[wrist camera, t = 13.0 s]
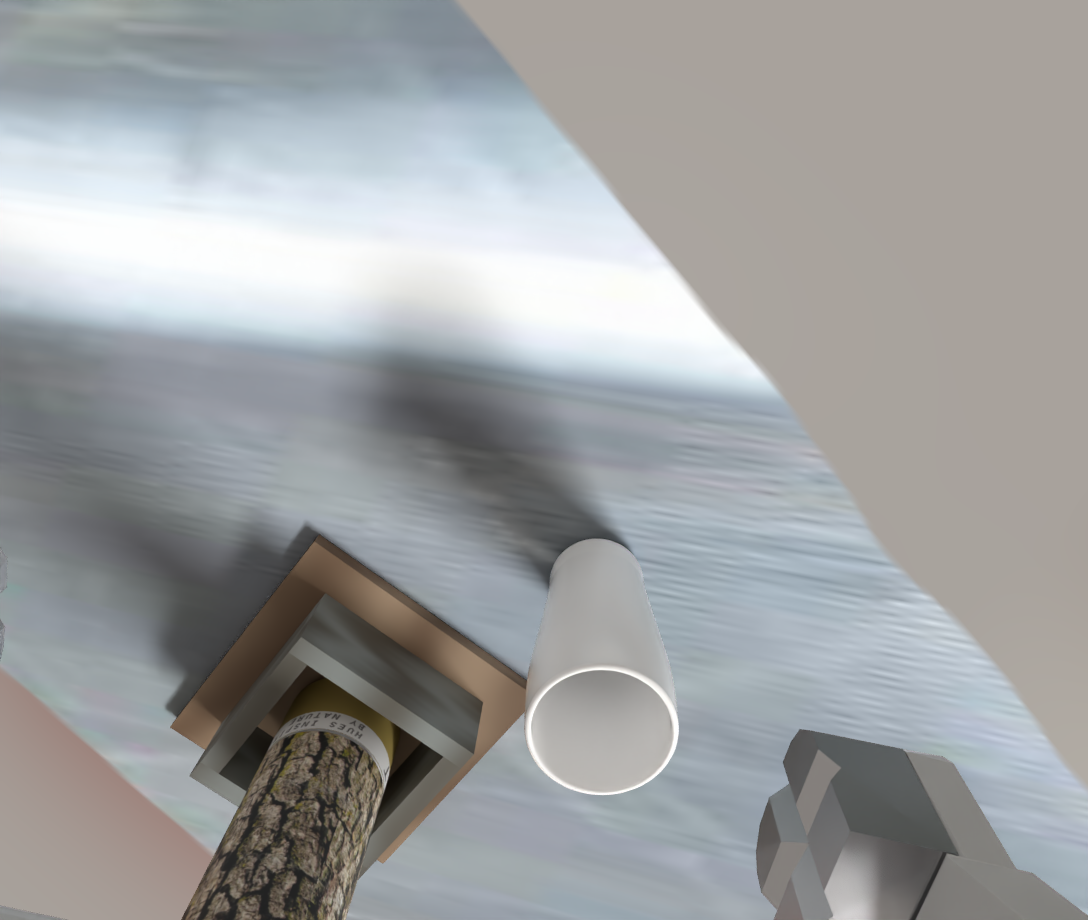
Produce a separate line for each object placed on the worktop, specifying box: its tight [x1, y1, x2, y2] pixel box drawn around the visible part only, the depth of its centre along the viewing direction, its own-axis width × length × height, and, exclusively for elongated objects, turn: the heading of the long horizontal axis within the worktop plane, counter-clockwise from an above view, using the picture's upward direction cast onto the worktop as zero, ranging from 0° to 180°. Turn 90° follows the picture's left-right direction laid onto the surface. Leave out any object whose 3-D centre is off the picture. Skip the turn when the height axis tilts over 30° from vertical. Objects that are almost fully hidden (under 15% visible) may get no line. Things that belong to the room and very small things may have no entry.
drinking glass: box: [524, 538, 679, 795], centre depth 47 cm, size 7×7×15 cm
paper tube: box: [181, 678, 400, 920], centre depth 45 cm, size 7×7×25 cm
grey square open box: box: [170, 535, 527, 879], centre depth 55 cm, size 16×16×6 cm
